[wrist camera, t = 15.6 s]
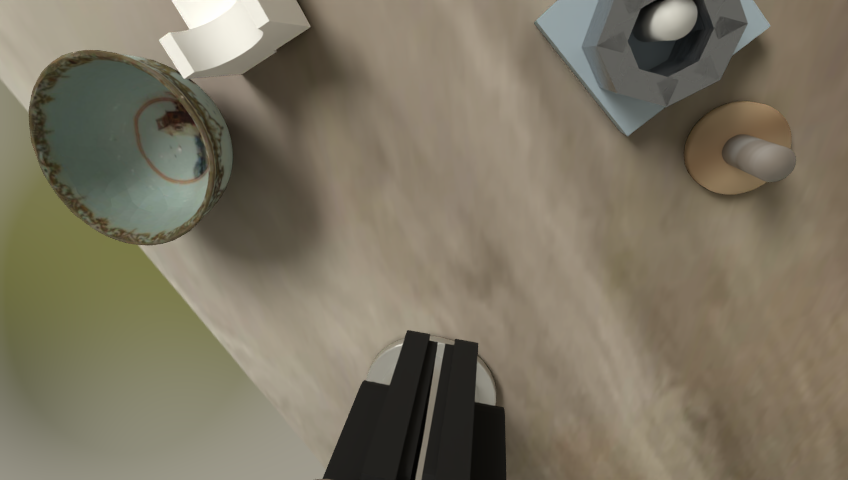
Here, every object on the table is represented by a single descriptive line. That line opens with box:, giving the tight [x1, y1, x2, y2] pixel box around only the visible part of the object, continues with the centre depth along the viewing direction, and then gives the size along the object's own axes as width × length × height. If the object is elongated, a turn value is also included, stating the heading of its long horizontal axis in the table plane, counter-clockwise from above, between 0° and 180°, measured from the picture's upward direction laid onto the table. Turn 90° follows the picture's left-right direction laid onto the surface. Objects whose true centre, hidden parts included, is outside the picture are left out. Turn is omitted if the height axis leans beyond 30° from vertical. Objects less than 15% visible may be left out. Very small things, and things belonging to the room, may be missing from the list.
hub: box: [534, 0, 770, 136], centre depth 28 cm, size 10×10×6 cm
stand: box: [684, 101, 796, 194], centre depth 30 cm, size 6×6×6 cm
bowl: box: [29, 50, 233, 245], centre depth 35 cm, size 14×13×8 cm
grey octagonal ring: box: [581, 0, 748, 107], centre depth 27 cm, size 7×7×5 cm
